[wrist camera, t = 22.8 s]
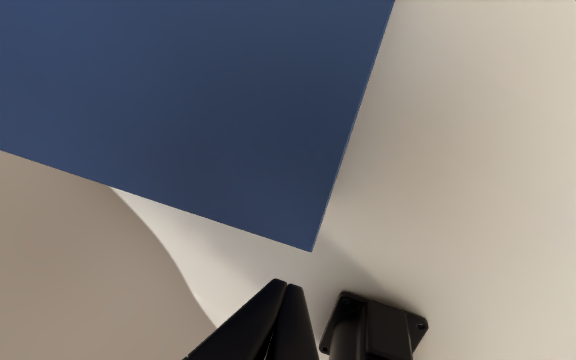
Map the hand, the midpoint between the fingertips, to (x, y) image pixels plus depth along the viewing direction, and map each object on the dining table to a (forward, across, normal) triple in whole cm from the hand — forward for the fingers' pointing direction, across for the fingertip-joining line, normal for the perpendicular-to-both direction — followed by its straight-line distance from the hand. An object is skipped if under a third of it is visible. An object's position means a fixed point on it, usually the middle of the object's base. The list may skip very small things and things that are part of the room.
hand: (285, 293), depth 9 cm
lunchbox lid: (+7, +9, -3) cm, 12 cm away
